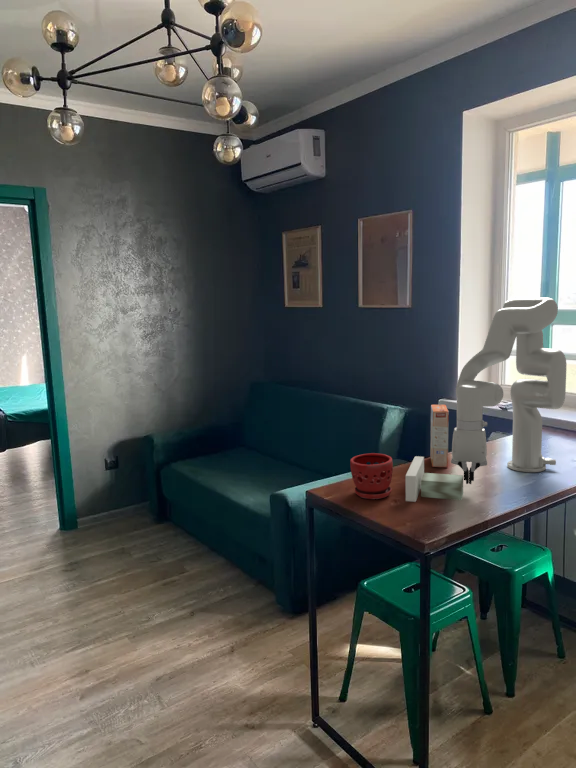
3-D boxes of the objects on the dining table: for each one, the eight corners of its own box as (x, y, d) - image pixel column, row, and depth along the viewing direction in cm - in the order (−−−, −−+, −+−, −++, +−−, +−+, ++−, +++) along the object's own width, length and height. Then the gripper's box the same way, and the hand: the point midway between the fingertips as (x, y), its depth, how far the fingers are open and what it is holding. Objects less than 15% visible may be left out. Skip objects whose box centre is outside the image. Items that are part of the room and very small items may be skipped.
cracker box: (449, 468, 205) (449, 411, 202) (431, 467, 206) (431, 411, 203) (446, 457, 218) (446, 403, 215) (430, 457, 219) (430, 403, 216)
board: (424, 479, 193) (424, 456, 192) (415, 501, 172) (415, 476, 171) (415, 479, 194) (415, 456, 193) (405, 500, 173) (405, 475, 172)
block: (463, 492, 180) (463, 475, 179) (461, 500, 172) (461, 483, 172) (424, 489, 184) (424, 472, 183) (421, 497, 177) (421, 480, 176)
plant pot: (367, 485, 189) (366, 450, 187) (401, 493, 180) (400, 456, 178) (342, 496, 180) (341, 459, 178) (377, 505, 171) (376, 466, 169)
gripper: (495, 423, 175) (494, 480, 178) (445, 421, 180) (444, 477, 183) (495, 428, 168) (494, 488, 171) (443, 426, 173) (443, 484, 176)
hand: (468, 482), depth 177 cm, fingers closed
